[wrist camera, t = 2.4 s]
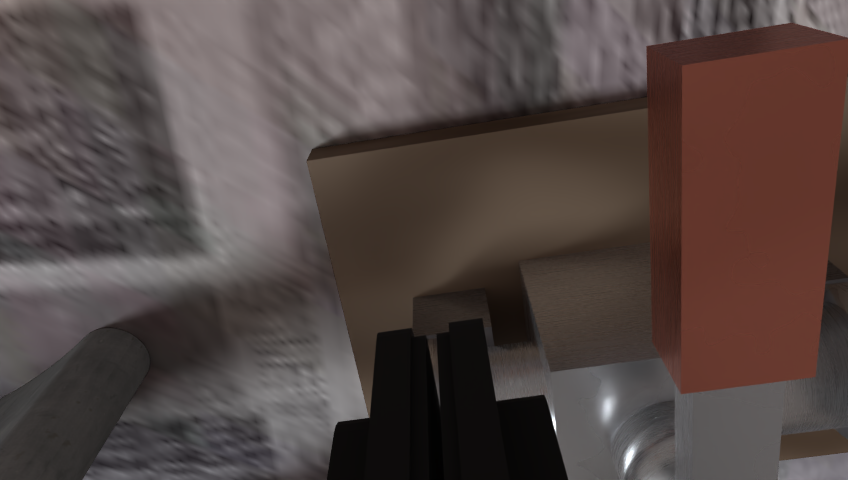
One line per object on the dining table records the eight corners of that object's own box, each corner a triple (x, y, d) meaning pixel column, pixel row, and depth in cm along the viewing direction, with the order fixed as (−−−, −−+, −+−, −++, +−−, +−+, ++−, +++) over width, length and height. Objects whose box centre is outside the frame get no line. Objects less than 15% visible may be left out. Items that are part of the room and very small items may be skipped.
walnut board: (834, 429, 33) (852, 451, 32) (392, 484, 34) (391, 507, 33) (881, 60, 26) (906, 68, 24) (312, 148, 27) (306, 160, 26)
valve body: (819, 361, 30) (994, 554, 21) (412, 414, 31) (409, 619, 22) (834, 215, 27) (1047, 366, 18) (385, 279, 28) (367, 452, 19)
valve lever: (753, 547, 20) (796, 627, 18) (644, 559, 20) (672, 640, 18) (789, 17, 14) (863, 36, 11) (629, 43, 14) (670, 67, 12)
